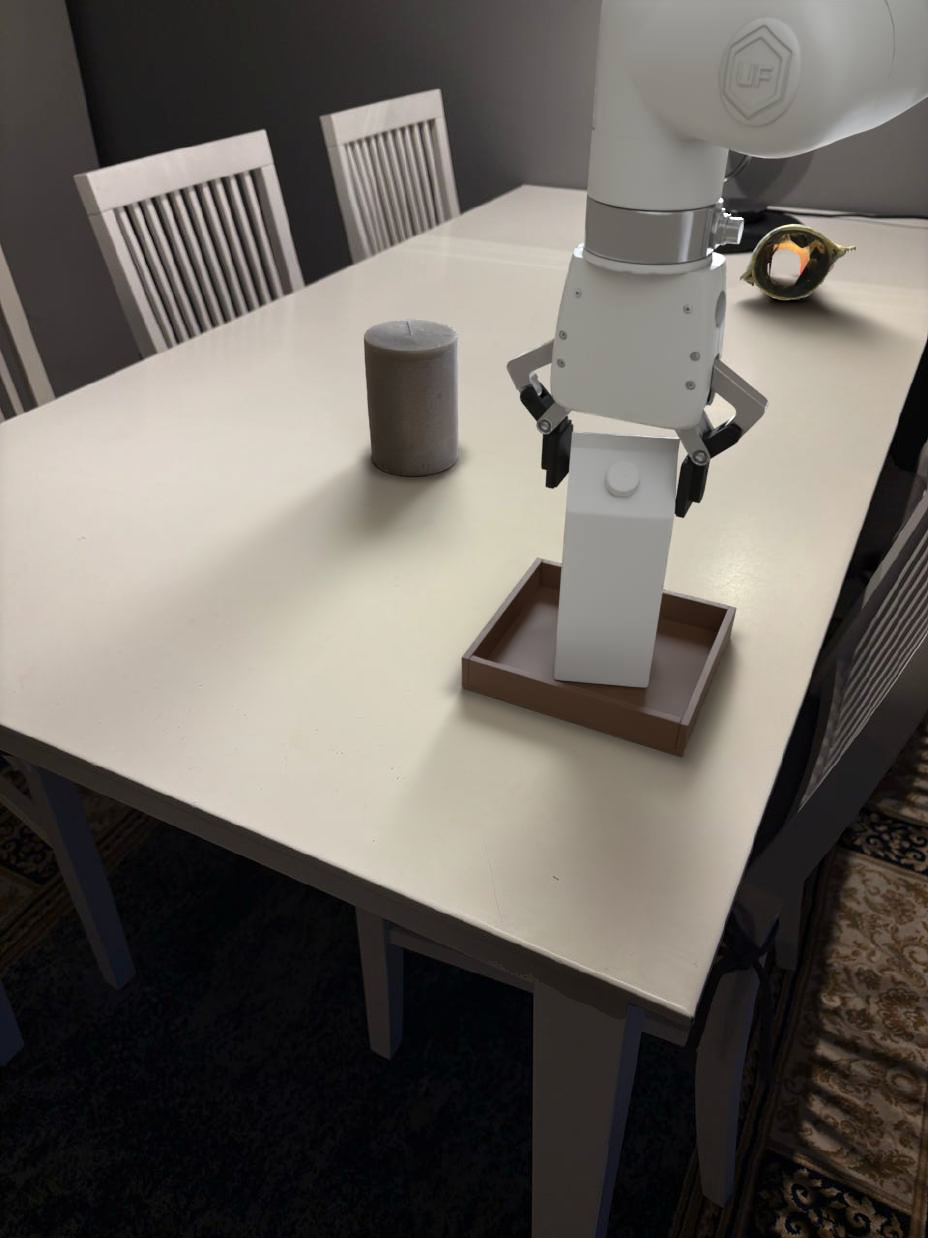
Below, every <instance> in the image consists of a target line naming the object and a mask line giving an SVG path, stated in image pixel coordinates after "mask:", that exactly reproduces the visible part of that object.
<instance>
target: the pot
mask: <svg viewBox="0 0 928 1238" xmlns="http://www.w3.org/2000/svg"><path fill="white" fill-rule="evenodd" d="M857 249H858V246H857V245H849V246H844V245H840V244H838V243H837V242H835V241H832V240H831V239H830V238H828V237H826V236H825V235H824V234H823V233H822V232H821V231H819V230H818V229H816V228H814V227H811V226H807V225H804V224H797V223H791V224H785V225H781V226H779V227H776V228H774V229H772V230H771V231H770V232H768V233H767V234H766V235H765V236H763V237H762V238H761V239H760V240H759V241H758V243H757V245H756V246H755V248H754V250H753V252H752V254H751V257H750V260H749V264H748V265H747V266H746V269H745V271H744V272H743V273H742V275H741V276H740V277H739V278H738V281H742V280H743V282H745V283H746V284H747V285H750V286H751V287H754V286H755V287H757V288H758V289H759V290H760V292H761V293H763V294H764V295H767V296H769V297H771V298H773V299H776V300H780V301H781V300H782V301H790V300H800V299H802V298H806V297H808V296H810V295H811V293H814V292H815V291H816V290H818V288H819V286H820V285H823V283H824V282H825V280H826V278H827V277H828V276H829V274H830V273H831V272H832V271H833V269H834V266H835V264H836V263H837V262H838V260H839V259H841V258H843V257H844V256H846V253H850V252H852V251H855V252H856V251H857ZM781 250H788V251H791V252H794V253H796V254H797V256H798V258H799V273H798V278H797V279H796V281H795V283H794V284H793V285H789V286H785V287H782V286H781V285H779V284H778V283H777V282H776V281H775V280H773V279H772V278H771V270H772V263H773V256H774V255H775V253H777V252H778V251H781Z"/></svg>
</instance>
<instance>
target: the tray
mask: <svg viewBox="0 0 928 1238" xmlns="http://www.w3.org/2000/svg"><path fill="white" fill-rule="evenodd" d="M561 569H562V562H558V561H554V560H551V559H546V558H542V557H536V558H535V560H534V562H533V563H532V564H531V565H530V567H529V568H528V569H527V570H526V572H525V573H524V575H523V576H522V577H521V578H520V580H519V581H518V582H517V584H516V585H515V586H514V588H513V589H512V590H511V592H510V593H509V594H508V596H506V598H505V599H504V601H503V602H502V604H501V605H500V606H499V607H498V609H497V610H496V611H495V613H494V614H493V616H492V617H491V618H490V619H489V620H488V622H487V623H486V625H484V627H483V628H482V630H481V632H480V633H479V634H478V635H477V637H476V638H475V639H474V641H473V642H472V643H471V644H470V646H469V647H468V648H467V650H466V651H465V652H464V653H463V655H462V656H461V688H462V689H464V690H468V691H471V692H475V693H478V694H481V695H484V696H487V697H491V698H494V699H497V700H500V701H503V702H506V703H510V704H513V705H516V706H519V707H522V708H525V709H528V710H531V711H535V712H538V713H541V714H544V715H547V716H550V717H554V718H557V719H559V720H563V721H567V722H570V723H573V724H575V725H579V726H581V727H585V728H588V729H592V730H595V731H598V732H601V733H604V734H607V735H610V736H613V737H617V738H619V739H624V740H626V741H630V742H633V743H636V744H639V745H641V746H645V747H648V748H652V749H655V750H657V751H661V752H664V753H667V754H671V755H674V756H677V757H680V758H683V757H684V754H685V753H686V749H687V747H688V744H689V741H690V739H691V737H692V734H693V731H694V729H695V726H696V724H697V721H698V719H699V717H700V714H701V712H702V709H703V706H704V704H705V701H706V699H707V696H708V694H709V692H710V689H711V687H712V684H713V681H714V679H715V676H716V674H717V671H718V669H719V667H720V665H721V661H722V659H723V656H724V654H725V651H726V648H727V646H728V644H729V642H730V639H731V636H732V631H733V627H734V622H735V618H736V613H737V609H738V608H737V607H736V606H732V605H728V604H724V603H720V602H716V601H714V600H713V601H712V600H708V599H705V598H701V597H696V596H693V595H689V594H685V593H681V592H678V591H673V590H669V589H666V588H663V593H662V599H661V605H660V612H659V618H658V625H657V631H656V637H655V644H654V650H653V657H652V663H651V670H650V676H649V682H648V686H647V687H631V686H620V685H608V684H597V683H585V682H574V681H563V680H555V679H554V666H555V652H556V638H557V625H558V611H559V597H560V583H561Z"/></svg>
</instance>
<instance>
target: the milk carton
mask: <svg viewBox="0 0 928 1238" xmlns="http://www.w3.org/2000/svg"><path fill="white" fill-rule="evenodd" d="M680 443H681V440H680V439H679V437H678V436H659V435H641V434H640V435H639V434H623V433H606V432H588V431H573V432H572V441H571V453H570V465H569V473H568V478H567V488H566V489H567V490H566V491H567V492H566V501H565V516H564V529H563V542H562V543H563V544H562V556H561V557H562V558H561V563H562V569H561V583H560V597H559V611H558V625H557V638H556V652H555V666H554V679H555V680H563V681H574V682H585V683H597V684H608V685H620V686H631V687H647V686H648V682H649V676H650V670H651V663H652V657H653V650H654V644H655V637H656V631H657V625H658V618H659V612H660V605H661V599H662V593H663V589H664V586H665V579H666V574H667V573H666V572H667V567H668V560H669V554H670V548H671V547H670V546H671V541H672V535H673V534H672V533H673V528H674V522H675V521H674V520H675V516H676V514H675V500H676V493H677V481H678V480H677V479H678V463H679V449H680Z"/></svg>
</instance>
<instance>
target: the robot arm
mask: <svg viewBox="0 0 928 1238" xmlns="http://www.w3.org/2000/svg"><path fill="white" fill-rule="evenodd" d="M595 65H596V66H595V67H596V68H595V79H594V80H595V81H594V91H593V106H592V107H593V108H592V121H591V133H590V135H591V136H590V147H589V161H588V176H587V188H586V204H585V214H584V215H585V217H584V230H583V241H582V242H580V243H579V244H577V245H576V247H575V248H573V250H572V253H571V256H570V260H569V263H568V268H567V271H566V275H565V279H564V284H563V288H562V292H561V293H562V294H561V298H560V303H559V308H558V314H557V319H556V325H555V332H554V337H553V338H552V339H549V340H547V341H545V342H542V343H541V344H538V345H536V346H533V347H532V348H529V349H527V350H524V351H523V352H520V353H518V354H516V355H515V356H513V358H511V359H510V360H509V361H508V362H507V364H506V370H507V372H508V375H509V376H510V379H511V381H512V383H513V385H514V387H515V388H516V390H517V391H518V392H519V400H520V403H521V405H523V406H524V407H525V409H526V410H527V412H528V413H529V414H530V415H531V417H532V418H533V419H534V420H535V421H536V424H535V426H536V429H537V431H538V432H539V433H540V434H542V441H541V443H542V444H541V460H540V467H541V470H542V471H543V470H544V471H545V488H547V489H551V490H554V489H555V488H558V487H559V485H560V484H561V483H562V482H563V480H564V479H565V478H566V477H567V475H569V465H570V453H571V441H572V432H574V424H573V423H572V421H573V420H572V419H570V418H569V416H568V415H570V413H571V412H576V413H581V414H584V415H590V416H595V417H601V418H606V419H610V420H617V421H621V422H626V423H631V424H637V425H643V426H647V427H653V428H659V429H663V430H673V431H674V432H675V433H676V435H677V437H678V438H679V439H680V443H681V444H682V446H683V449H685V451H686V453H687V454H686V456H685V457H684V459H683V460H682V462H681V465H680V469H679V474H678V480H677V486H676V498H675V518H676V517H678V518H681V519H685V517H686V515H687V513H688V512H689V510H690V508H691V507H692V505H693V503H696V504H700V503H701V502H702V500H703V497H704V494H705V491H706V485H707V479H708V473H709V470H710V469H709V468H710V464H711V463H710V462H711V460H712V459H713V458H715V457H717V456H718V455H720V454H722V453H723V452H726V451H727V450H728V449H729V448H731V447H733V446H734V445H736V444H737V443H738V442H739V441H740V440H741V438H742V437H743V436H744V435H745V434H747V432H749V431H750V429H752V427H754V426H755V424H756V423H757V422H759V420H760V419H761V418H762V417H763V416H764V414H765V413H766V411H767V409H768V408H769V400H768V398H766V396H764V395H763V394H762V393H761V392H760V391H758V390H757V389H756V388H755V387H754V386H752V385H751V384H750V383H748V382H747V381H746V380H745V379H744V378H742V377H741V375H739V374H738V373H737V372H735V370H732V368H730V367H729V366H728V365H727V364H726V363H724V362H723V361H722V356H723V346H724V339H725V328H726V316H727V315H726V314H727V299H728V294H727V293H728V276H727V274H728V271H727V270H728V269H727V259H726V257H725V256H724V255H723V254H721V253H719V252H718V253H717V252H714V250H716V249H717V248H718V247H719V246H720V245H721V246H725V245H726V244H733V245H739V244H740V243H741V239H742V236H743V231H744V224H745V219H744V218H742V217H733V216H732V214H728V213H726V208H724V201H725V199H723V198H722V196H723V190H724V184H725V177H726V172H727V165H728V157H729V152H730V151H732V152H736V153H739V154H742V155H746V156H750V157H755V158H762V159H784V158H785V159H786V158H791V157H795V156H800V155H803V154H805V153H808V152H811V151H815V150H817V149H820V148H823V147H826V146H829V145H831V144H833V143H835V142H838V141H840V140H843V139H845V138H849V137H852V136H855V135H858V134H860V133H865V132H867V131H869V130H872V129H875V128H878V127H879V126H881V125H883V124H885V123H887V122H889V121H891V120H893V119H894V118H896V117H897V116H900V115H901V114H903V113H904V112H906V111H907V110H910V109H911V108H912V107H914V106H916V105H917V104H919V103H920V102H922V101H924V100H925V99H926V98H928V0H602V2H601V8H600V16H599V27H598V39H597V52H596V64H595ZM548 365H551V366H550V376H549V377H550V378H549V379H550V382H549V383H550V384H549V385H550V387H549V388H550V392H549V390H548V389H547V388H546V387H545V386H544V384H543V383H542V382H540V381H539V376H538V374H537V370H538V369H542V368H543V367H545V366H548ZM716 394H717V395H719V396H720V397H721V398H722V399H723V400H725V402H727V403H728V404H729V405H731V406H732V407H733V408H734V410H735V413H734V415H732V416H731V417H730V418H729V419H727V420H726V421H724V422H723V423H721V424H720V425H718V426H717V427H715V426H713V423H712V422H711V420H710V418H709V416H708V414H707V412H706V410H705V408H706V407H707V406H712V405H713V402H714V400H715V397H716Z"/></svg>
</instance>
